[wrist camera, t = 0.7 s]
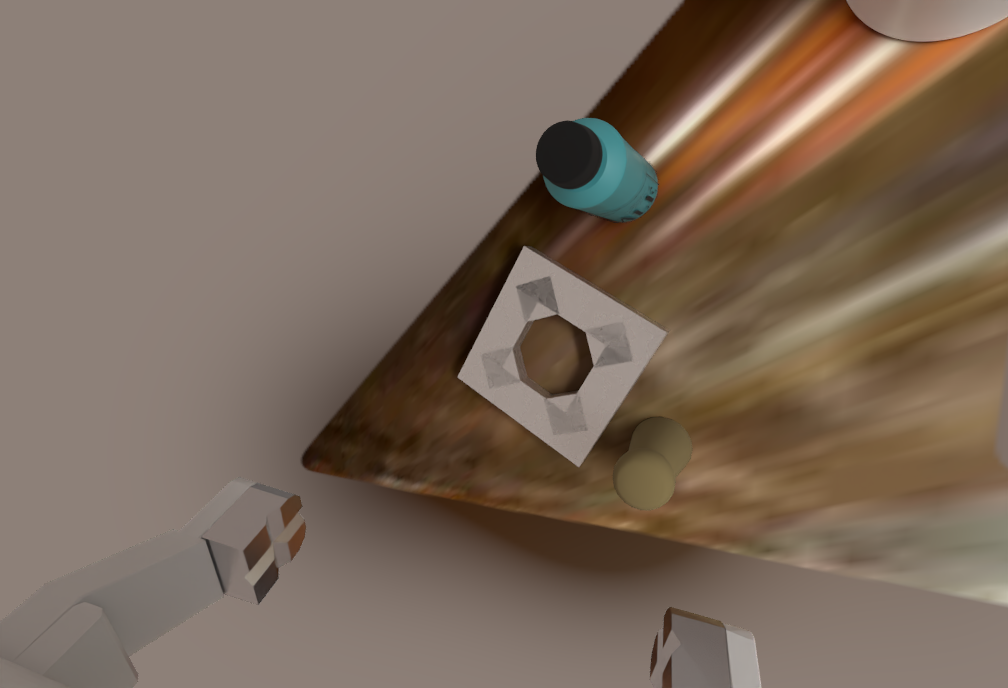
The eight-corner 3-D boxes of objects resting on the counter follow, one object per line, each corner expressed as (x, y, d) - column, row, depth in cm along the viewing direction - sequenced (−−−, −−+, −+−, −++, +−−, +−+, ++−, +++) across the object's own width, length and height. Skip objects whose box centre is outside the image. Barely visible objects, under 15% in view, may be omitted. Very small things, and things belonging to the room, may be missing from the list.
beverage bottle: (610, 149, 51) (531, 84, 33) (675, 168, 48) (628, 109, 30) (586, 214, 52) (500, 186, 35) (648, 235, 50) (589, 217, 32)
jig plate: (531, 246, 56) (524, 245, 54) (670, 330, 50) (667, 332, 49) (465, 374, 61) (457, 377, 60) (584, 460, 56) (578, 467, 54)
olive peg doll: (630, 469, 54) (603, 514, 44) (631, 413, 53) (604, 446, 43) (691, 478, 51) (676, 528, 42) (693, 420, 51) (678, 456, 41)
